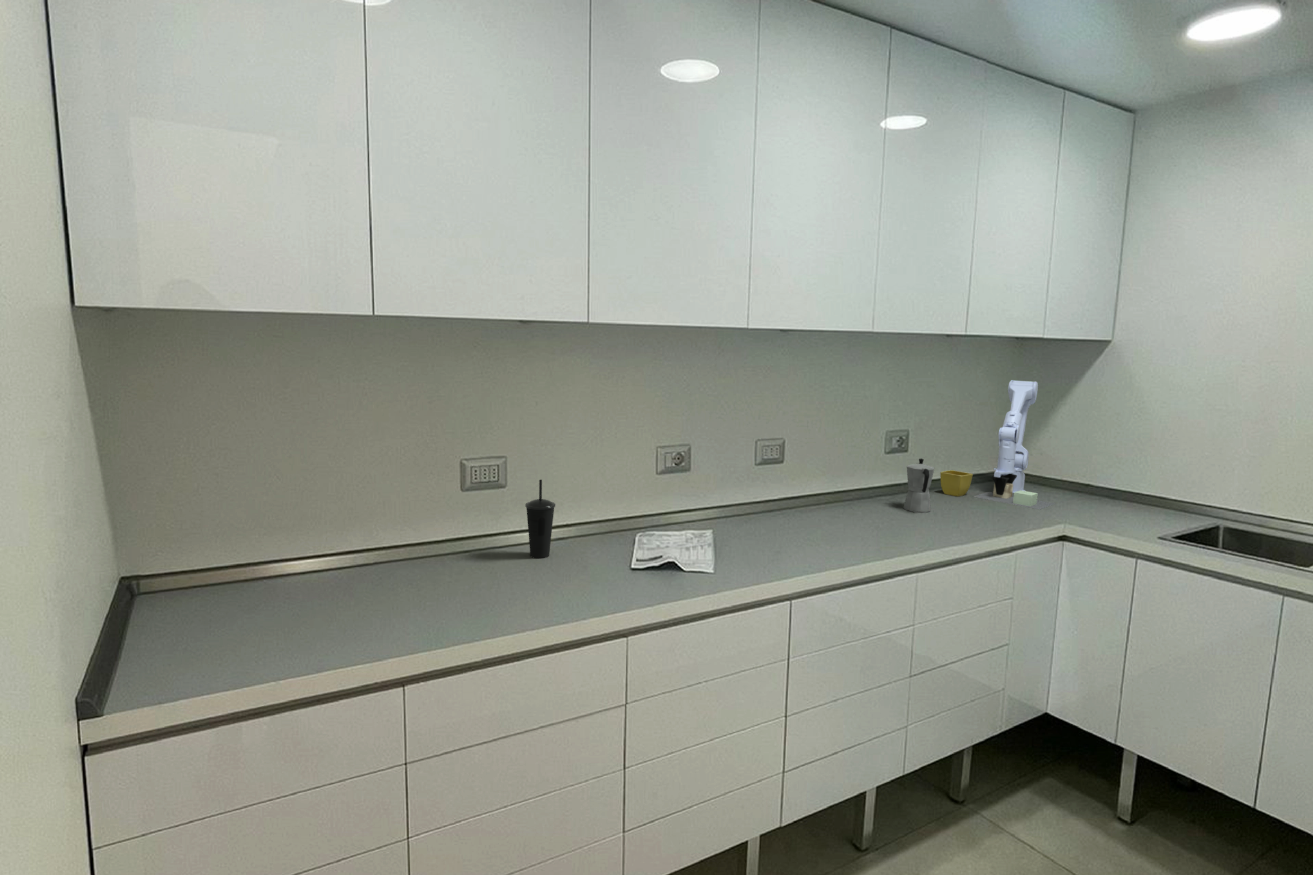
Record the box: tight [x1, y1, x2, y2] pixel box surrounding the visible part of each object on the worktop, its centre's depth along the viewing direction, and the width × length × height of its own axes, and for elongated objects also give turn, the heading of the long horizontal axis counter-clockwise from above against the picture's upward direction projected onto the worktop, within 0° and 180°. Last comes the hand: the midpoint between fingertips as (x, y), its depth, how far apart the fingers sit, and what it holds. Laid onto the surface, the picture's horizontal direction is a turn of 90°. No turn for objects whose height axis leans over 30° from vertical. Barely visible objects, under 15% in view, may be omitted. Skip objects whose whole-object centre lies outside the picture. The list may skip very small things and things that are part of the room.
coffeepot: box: [903, 458, 936, 513], centre depth 249 cm, size 15×9×18 cm, turn 175°
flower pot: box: [939, 469, 974, 497], centre depth 275 cm, size 9×9×9 cm
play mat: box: [972, 491, 1056, 510], centre depth 269 cm, size 15×24×1 cm, turn 43°
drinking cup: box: [524, 479, 556, 559], centre depth 185 cm, size 8×8×20 cm
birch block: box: [992, 482, 1013, 499], centre depth 274 cm, size 5×5×5 cm
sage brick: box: [1013, 490, 1039, 506], centre depth 263 cm, size 6×6×4 cm
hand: (1002, 493), depth 274 cm, fingers closed on birch block, 5 cm apart
